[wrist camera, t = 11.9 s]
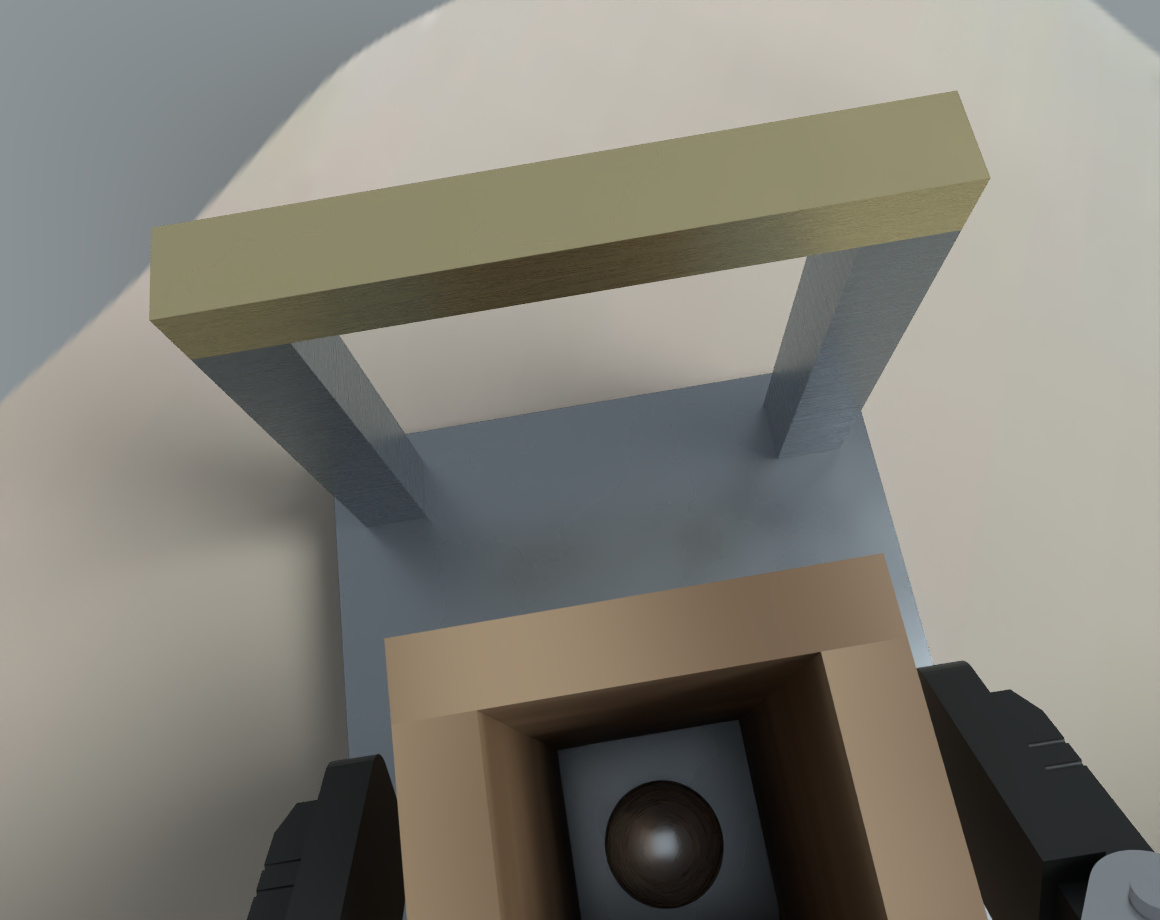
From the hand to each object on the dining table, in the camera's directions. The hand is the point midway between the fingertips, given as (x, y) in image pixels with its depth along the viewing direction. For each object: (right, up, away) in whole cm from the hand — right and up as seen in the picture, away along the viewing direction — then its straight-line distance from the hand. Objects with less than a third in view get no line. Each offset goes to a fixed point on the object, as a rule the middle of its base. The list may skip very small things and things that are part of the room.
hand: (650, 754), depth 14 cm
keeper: (+1, -4, +6) cm, 8 cm away
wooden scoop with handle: (+1, -5, +5) cm, 7 cm away
